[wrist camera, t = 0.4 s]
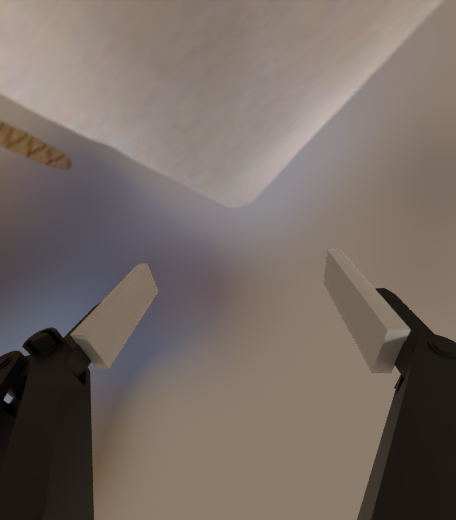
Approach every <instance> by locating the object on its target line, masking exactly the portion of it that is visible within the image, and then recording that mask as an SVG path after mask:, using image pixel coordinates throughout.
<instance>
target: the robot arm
mask: <svg viewBox="0 0 456 520" xmlns="http://www.w3.org/2000/svg"><path fill="white" fill-rule="evenodd" d="M324 285H325V287H326V288H327V290H328V292H329V294H330V296H331V298H332V299H333V301H334V303H335V305H336V307H337V309H338V311H339V313H340V315H341V316H342V318H343V320H344V322H345V324H346V326H347V328H348V329H349V331H350V333H351V335H352V337H353V339H354V341H355V343H356V344H357V346H358V348H359V350H360V352H361V354H362V356H363V357H364V359H365V361H366V363H367V365H368V367H369V369H370V371H371V373H391V372H392V370H393V367H394V366H396V367H397V369H398V370H399V372H400V373H401V375H400V377H399V379H398V381H397V383H396V385H395V387H394V388H395V389H396V390H395V394H394V397H393V400H392V404H391V407H390V410H389V414H388V417H387V421H386V424H385V427H384V431H383V434H382V437H381V441H380V445H379V448H378V451H377V454H376V458H375V461H374V464H373V468H372V471H371V475H370V478H369V481H368V485H367V488H366V491H365V495H364V498H363V502H362V505H361V508H360V512H359V515H358V519H357V520H456V343H455V342H454V341H452V340H450V339H448V338H445V337H442V336H439V335H435V334H434V333H433V332H432V331H431V330H430V329H429V328H428V327H427V326H426V325H425V324H424V323H423V322H422V321H421V320H420V319H419V318H418V317H417V316H416V315H415V314H414V313H413V312H412V311H411V310H409V308H408V307H407V306H406V305H405V304H404V303H403V302H402V301H401V300H400V299H399V298H398V297H397V296H396V295H395V294H394V293H392V292H390V291H389V290H387V289H385V288H378V289H375V288H374V287H373V286H372V285H371V284H370V283H369V281H368V280H367V279H366V278H365V277H364V276H363V275H362V274H361V272H360V271H359V270H358V269H357V268H356V267H355V265H354V264H353V263H352V262H351V261H350V260H349V259H348V258H347V256H346V255H345V254H344V253H343V252H342V251H341V250H340V249H330V250H327V258H326V267H325V275H324ZM157 293H158V289H157V287H156V285H155V282H154V279H153V277H152V275H151V272H150V270H149V267H148V265H147V264H138V265H137V266H136V267H135V268H134V269H133V270H132V271H131V272H130V273H129V274H128V275H127V276H126V277H125V278H124V279H123V280H122V281H121V283H119V285H118V286H117V287H116V288H115V289H114V290H113V291H112V292H111V293H110V294H109V295H108V296H107V297H106V298H105V299H104V300H103V301H102V302H101V303H99V304H98V305H96V306H95V307H93V309H91V311H90V312H89V313H88V315H86V316H85V317H84V318H83V320H81V321H80V322H79V323H78V324H77V325H76V326H75V327H74V328H73V329H72V330H71V331H70V332H69V333H68V334H67V335H66V336H65V337H64V338H63V337H62V336H61V335H60V334H59V332H58V331H57V330H56V329H55V328H46V329H44V330H41V331H39V332H37V333H35V334H34V335H33V336H31V337H30V338H29V339H28V340H27V341H25V343H24V344H23V348H24V349H25V350H26V351H28V353H29V354H30V355H28V356H24V355H23V354H22V353H21V352H20V351H13V352H9V353H7V354H5V355H2V356H1V357H0V520H94V510H93V509H94V506H93V472H92V471H93V467H92V430H91V393H90V371H89V369H88V366H89V364H90V363H91V362H92V363H93V364H94V366H95V367H96V368H109V367H110V366H111V364H112V363H113V361H114V360H115V358H116V356H117V355H118V353H119V352H120V350H121V349H122V347H123V346H124V344H125V343H126V341H127V339H128V338H129V336H130V335H131V333H132V332H133V330H134V328H135V327H136V325H137V323H138V322H139V321H140V319H141V318H142V316H143V314H144V313H145V311H146V310H147V308H148V307H149V305H150V304H151V302H152V300H153V299H154V297H155V296H156V294H157ZM7 393H8V394H9V395H10V396H12V397H13V399H12V401H11V402H10V403H9V404H8V403H6V402H5V401H4V397H5V396H6V394H7Z"/></svg>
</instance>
